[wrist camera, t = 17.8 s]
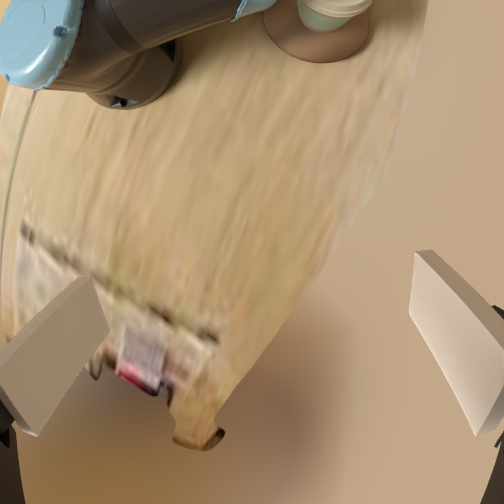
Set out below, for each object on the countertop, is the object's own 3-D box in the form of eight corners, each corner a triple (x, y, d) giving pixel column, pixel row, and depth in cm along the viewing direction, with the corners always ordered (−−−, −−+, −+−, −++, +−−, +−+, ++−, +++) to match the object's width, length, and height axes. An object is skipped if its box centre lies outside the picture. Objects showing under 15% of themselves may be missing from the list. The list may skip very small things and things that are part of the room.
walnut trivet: (241, 17, 33) (240, 14, 32) (310, -37, 29) (311, -42, 28) (320, 83, 36) (321, 81, 35) (386, 25, 32) (389, 22, 30)
